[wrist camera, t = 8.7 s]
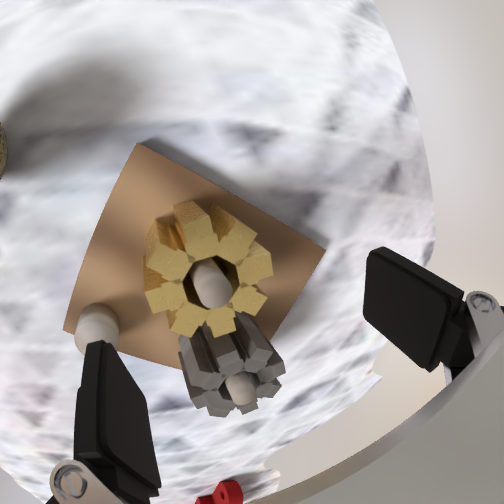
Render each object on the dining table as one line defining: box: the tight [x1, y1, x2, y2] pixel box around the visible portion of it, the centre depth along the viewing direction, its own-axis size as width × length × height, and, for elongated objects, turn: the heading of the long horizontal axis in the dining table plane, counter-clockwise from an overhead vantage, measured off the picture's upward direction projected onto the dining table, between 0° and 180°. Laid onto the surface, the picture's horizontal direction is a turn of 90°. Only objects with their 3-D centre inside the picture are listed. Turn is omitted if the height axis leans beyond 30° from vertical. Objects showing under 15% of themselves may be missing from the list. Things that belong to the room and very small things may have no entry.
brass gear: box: [143, 200, 273, 338], centre depth 16 cm, size 7×7×5 cm
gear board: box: [63, 143, 326, 417], centre depth 17 cm, size 14×16×7 cm
